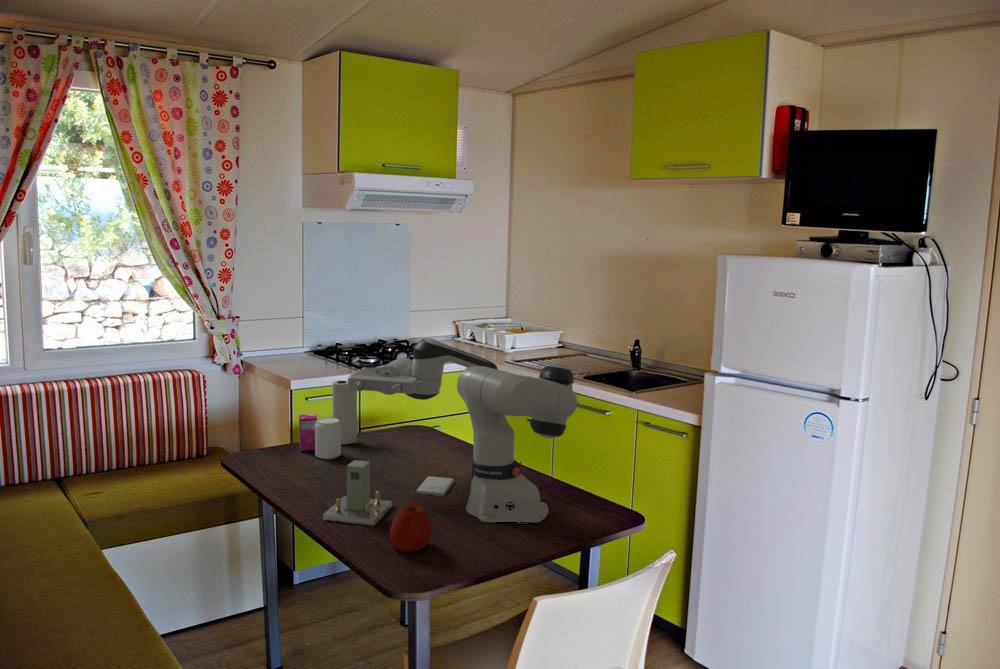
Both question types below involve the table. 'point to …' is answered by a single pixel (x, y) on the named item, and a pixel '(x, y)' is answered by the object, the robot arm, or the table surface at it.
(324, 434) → the beverage can
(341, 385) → the paper towel roll
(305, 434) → the supplement box
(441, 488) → the external hard drive
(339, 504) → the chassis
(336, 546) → the table surface
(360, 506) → the block
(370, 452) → the table surface
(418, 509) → the apple
